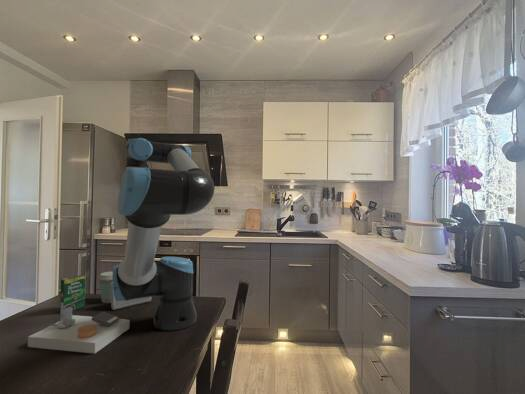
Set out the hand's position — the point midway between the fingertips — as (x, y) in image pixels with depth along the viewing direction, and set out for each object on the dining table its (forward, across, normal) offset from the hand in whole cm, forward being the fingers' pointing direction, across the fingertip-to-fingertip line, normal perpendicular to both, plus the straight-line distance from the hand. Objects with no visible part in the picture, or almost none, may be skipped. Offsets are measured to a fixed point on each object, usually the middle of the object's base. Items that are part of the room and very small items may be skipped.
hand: (134, 238), depth 107 cm
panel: (+29, +20, -4) cm, 36 cm away
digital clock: (+30, -8, -6) cm, 31 cm away
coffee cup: (+30, -11, -18) cm, 36 cm away
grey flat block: (+25, +16, +1) cm, 30 cm away
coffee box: (+30, +1, -25) cm, 39 cm away
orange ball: (+29, +24, +1) cm, 38 cm away
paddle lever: (+26, +20, -10) cm, 34 cm away
